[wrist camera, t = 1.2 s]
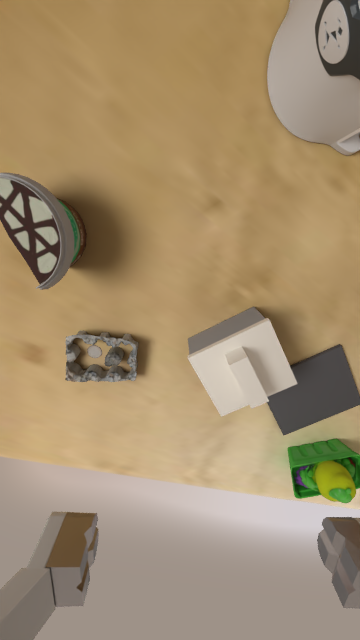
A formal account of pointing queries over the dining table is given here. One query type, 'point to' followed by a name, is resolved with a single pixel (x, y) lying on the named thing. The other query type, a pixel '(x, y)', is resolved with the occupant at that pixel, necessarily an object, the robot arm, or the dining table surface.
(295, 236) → the dining table surface
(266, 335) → the lid
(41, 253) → the food container
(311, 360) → the mat
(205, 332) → the crate
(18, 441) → the dining table surface
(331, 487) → the fruit basket
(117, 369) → the egg carton
